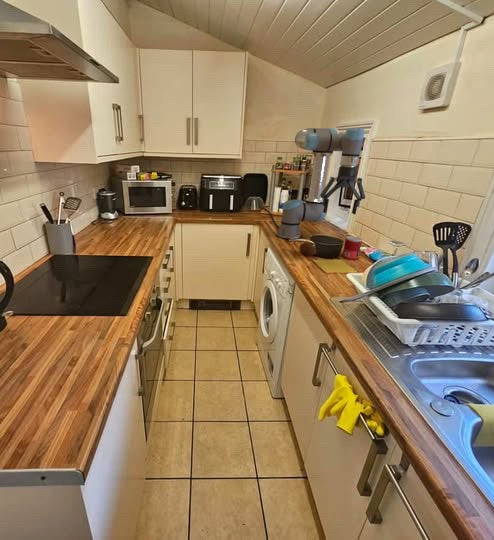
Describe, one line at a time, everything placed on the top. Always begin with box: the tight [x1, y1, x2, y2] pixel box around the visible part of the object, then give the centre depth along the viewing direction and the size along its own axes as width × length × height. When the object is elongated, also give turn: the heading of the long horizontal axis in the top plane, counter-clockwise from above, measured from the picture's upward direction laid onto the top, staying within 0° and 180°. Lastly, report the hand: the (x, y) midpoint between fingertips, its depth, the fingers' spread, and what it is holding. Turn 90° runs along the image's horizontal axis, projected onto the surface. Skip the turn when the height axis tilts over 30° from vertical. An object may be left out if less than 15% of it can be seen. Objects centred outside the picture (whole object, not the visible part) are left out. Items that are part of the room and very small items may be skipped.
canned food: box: [341, 235, 363, 261], centre depth 161 cm, size 8×8×11 cm
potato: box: [299, 242, 317, 257], centre depth 165 cm, size 6×12×6 cm, turn 30°
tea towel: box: [312, 259, 358, 274], centre depth 151 cm, size 16×16×1 cm
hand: (339, 213), depth 143 cm, fingers open, 13 cm apart
